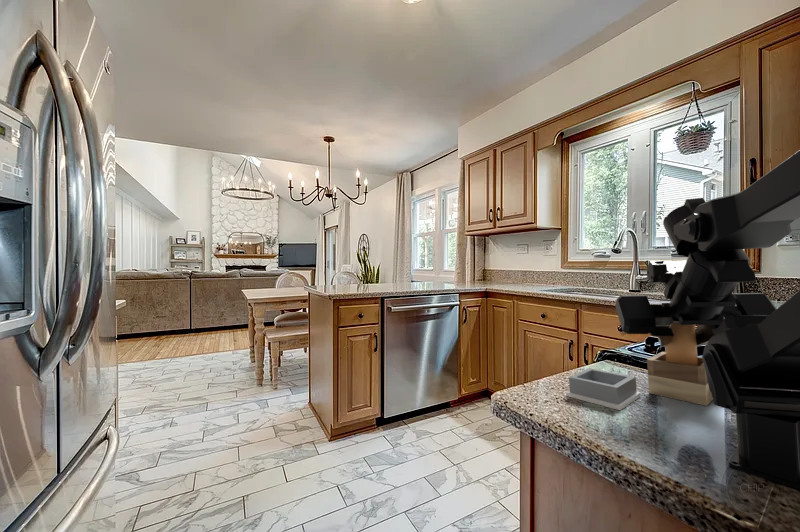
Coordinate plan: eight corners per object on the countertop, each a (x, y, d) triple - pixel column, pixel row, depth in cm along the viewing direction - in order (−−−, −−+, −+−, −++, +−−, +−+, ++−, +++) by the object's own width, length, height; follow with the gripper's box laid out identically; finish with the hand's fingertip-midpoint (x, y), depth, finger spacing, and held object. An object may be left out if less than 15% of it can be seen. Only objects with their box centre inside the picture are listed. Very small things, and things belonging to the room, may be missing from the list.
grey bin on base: (620, 410, 50) (618, 389, 50) (566, 395, 56) (565, 377, 56) (640, 396, 55) (639, 376, 55) (589, 384, 61) (588, 367, 61)
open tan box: (706, 405, 50) (704, 368, 50) (649, 393, 56) (647, 359, 56) (718, 393, 54) (716, 358, 54) (663, 382, 60) (662, 351, 60)
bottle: (694, 380, 52) (690, 315, 53) (663, 374, 56) (659, 313, 56) (701, 374, 55) (697, 312, 55) (671, 369, 58) (667, 310, 58)
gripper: (764, 237, 49) (725, 305, 59) (614, 246, 55) (602, 306, 65) (813, 296, 41) (758, 363, 51) (633, 299, 47) (616, 358, 58)
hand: (676, 344), depth 57 cm, fingers closed on bottle, 4 cm apart
